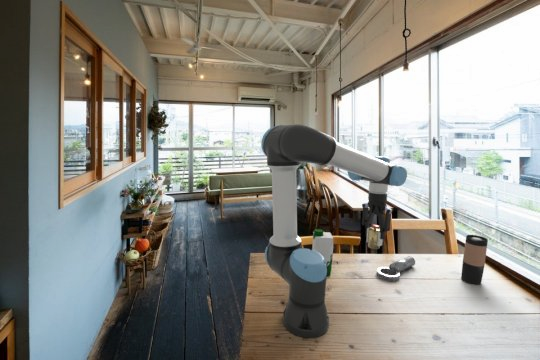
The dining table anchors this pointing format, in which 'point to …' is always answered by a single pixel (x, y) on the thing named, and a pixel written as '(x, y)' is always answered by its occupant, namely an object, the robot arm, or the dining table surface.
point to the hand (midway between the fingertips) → (374, 243)
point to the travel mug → (474, 259)
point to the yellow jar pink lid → (373, 237)
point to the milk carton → (324, 247)
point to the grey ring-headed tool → (395, 269)
